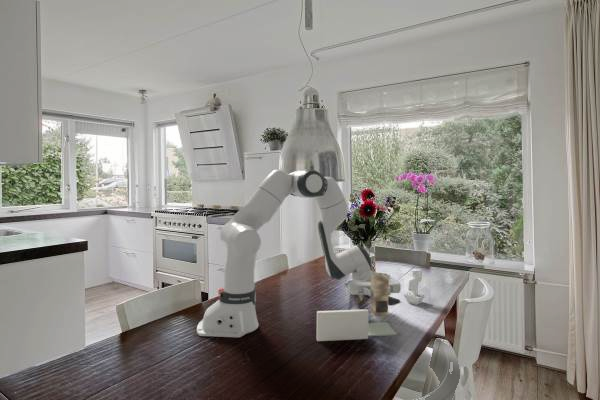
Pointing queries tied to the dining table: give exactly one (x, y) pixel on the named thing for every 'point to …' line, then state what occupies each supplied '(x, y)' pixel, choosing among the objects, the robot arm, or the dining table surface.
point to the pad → (380, 329)
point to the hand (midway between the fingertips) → (380, 293)
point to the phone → (390, 300)
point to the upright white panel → (342, 325)
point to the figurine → (414, 288)
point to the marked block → (379, 295)
